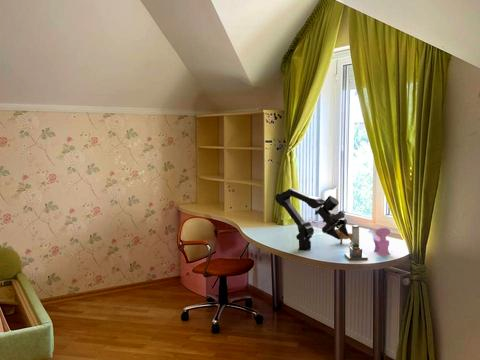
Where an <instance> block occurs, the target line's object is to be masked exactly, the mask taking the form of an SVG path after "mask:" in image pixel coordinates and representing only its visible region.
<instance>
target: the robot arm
mask: <svg viewBox="0 0 480 360" xmlns="http://www.w3.org/2000/svg"><path fill="white" fill-rule="evenodd" d="M291 198H295V199H298V200H299V201H302V202H304V203H306V205H308V206H309V207H310V208H311V209H315V212H314V215H315V216H317V215H319V216H320V218H321V219H322V222H323V223H325V224H324V226H322V228H321V232H322V233H323V234H326V235H329V236H331V237H333V238H335V239H336V240H339V241H340V237H339V235H338V234H337V232H336V231H335V230H336V229H338V230H339V231H340V232H342V233H343V234H344V235H346V236H347V237H348V236H349V234H348V233H349V232H348V229H347V223H348V220H347V219H346V218H345V212H344V211H343V210H340V211H338V212H337V213H336V214H335V213H331V212H333V210H334V209H336V207H337V206H338V205H339V203H340V202H339V200H338V199H336V198H335V197H333V196H332V195H328V196H327V198H326V199H323V198H321V197H320V196H312V195H309V194H306V193H304V192H302V191H299V190H297V189H296V188H288V189H287V190H285V191H283V192H279V193H277V194H276V195H275V198H274V200H275V202H276V204H277V203H278V206H281V207H283V208H284V209H285V210H286V212H287V213H288V215H289V216H290V218H291V220H292V221H293V222H294V223H295V224H296V226H297V231H298V234H297V235H295V236H296V237H295V238H296V240H298V251H299V250H300V251H310V250H311V248H312V241H311V239H312V237H313V235H314V234H315V233H314V232H315V230H314V226H313V225H312V224H311V222H309V221H308V222H306V221H305V219H303V217H302V216H301V215H300V213H299V212H298V211H297V210H296V208H295V206H294V205H293V204H292V202H291Z"/></svg>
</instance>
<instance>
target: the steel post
mask: <svg viewBox="0 0 480 360" xmlns="http://www.w3.org/2000/svg"><path fill="white" fill-rule="evenodd" d="M351 230H352V231H351V234H352V243H351V245H352V246H351V247H352V248H353V249H359V247H360V225H357V224H355V225H352V226H351Z"/></svg>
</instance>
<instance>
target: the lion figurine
mask: <svg viewBox="0 0 480 360" xmlns="http://www.w3.org/2000/svg"><path fill="white" fill-rule="evenodd" d="M335 231H336V232H337V234H338V235H339V237H340V239H339V241H340V242H339V244H340V245H342V244H343V240H350V242H349V244H352V232H348V234H349V236H348V237H347V236H346V235H344V234H343V233H342V232H340V231H339V230H338V228H335Z"/></svg>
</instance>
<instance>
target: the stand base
mask: <svg viewBox="0 0 480 360" xmlns="http://www.w3.org/2000/svg"><path fill="white" fill-rule="evenodd" d="M343 255H344V257H345V258H346V259H347V261H349V262H354V261H355V262H356V261H368V259H369V257H368V256H367V255H366V254H364V252H363V249H362V248H361V247H360V246H359V249H353V248H352V246H349V252H348V253H347V252H345V253H344V254H343Z"/></svg>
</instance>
